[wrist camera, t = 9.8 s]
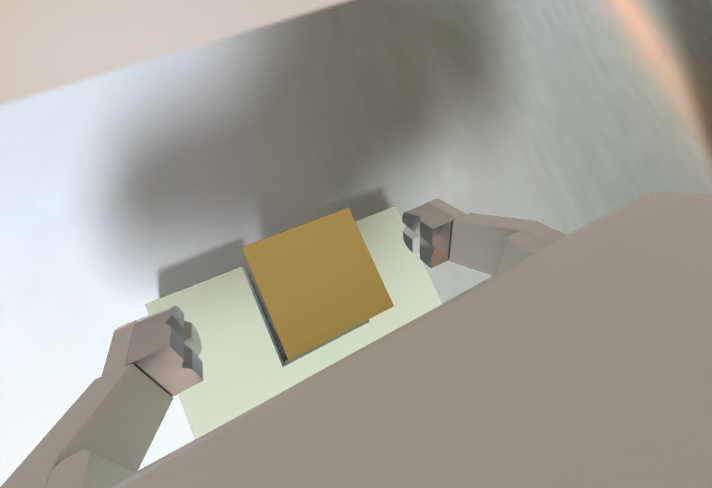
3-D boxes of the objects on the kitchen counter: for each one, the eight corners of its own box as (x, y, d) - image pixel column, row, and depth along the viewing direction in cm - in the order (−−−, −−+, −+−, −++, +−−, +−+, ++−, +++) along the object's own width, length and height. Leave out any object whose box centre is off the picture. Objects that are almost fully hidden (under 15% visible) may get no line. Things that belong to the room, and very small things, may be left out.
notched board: (387, 213, 18) (395, 205, 17) (468, 384, 17) (484, 391, 16) (159, 304, 14) (145, 304, 13) (245, 535, 13) (240, 564, 12)
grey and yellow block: (318, 256, 17) (348, 207, 8) (339, 304, 17) (394, 306, 8) (267, 277, 16) (241, 247, 7) (288, 329, 16) (288, 361, 7)
